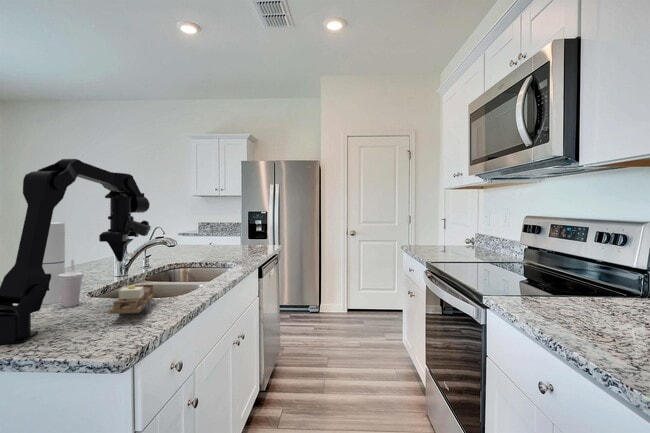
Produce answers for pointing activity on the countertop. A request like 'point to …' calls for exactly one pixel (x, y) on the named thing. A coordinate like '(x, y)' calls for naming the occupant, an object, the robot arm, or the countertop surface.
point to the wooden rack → (135, 304)
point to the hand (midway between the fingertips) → (120, 261)
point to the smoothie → (70, 286)
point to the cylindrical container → (54, 261)
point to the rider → (131, 293)
